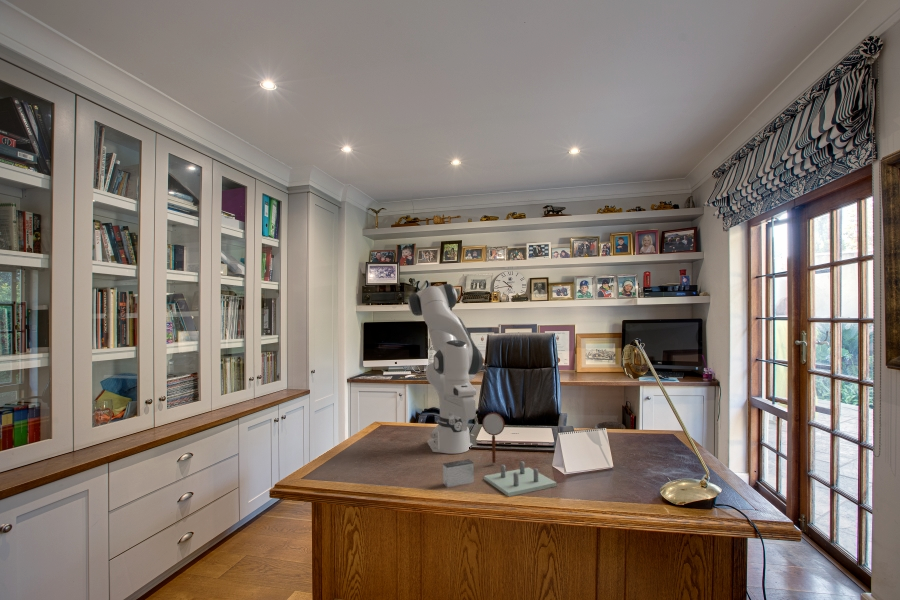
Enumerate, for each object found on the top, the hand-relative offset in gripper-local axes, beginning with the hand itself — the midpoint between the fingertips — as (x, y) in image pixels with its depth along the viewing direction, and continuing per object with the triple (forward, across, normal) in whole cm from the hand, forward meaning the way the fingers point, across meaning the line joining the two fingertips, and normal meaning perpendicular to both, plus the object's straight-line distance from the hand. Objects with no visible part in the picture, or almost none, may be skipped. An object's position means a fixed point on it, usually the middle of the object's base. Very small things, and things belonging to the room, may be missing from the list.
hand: (457, 427), depth 146 cm
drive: (+19, 0, 0) cm, 19 cm away
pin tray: (+19, +9, +19) cm, 28 cm away
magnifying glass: (+19, -10, +20) cm, 30 cm away
